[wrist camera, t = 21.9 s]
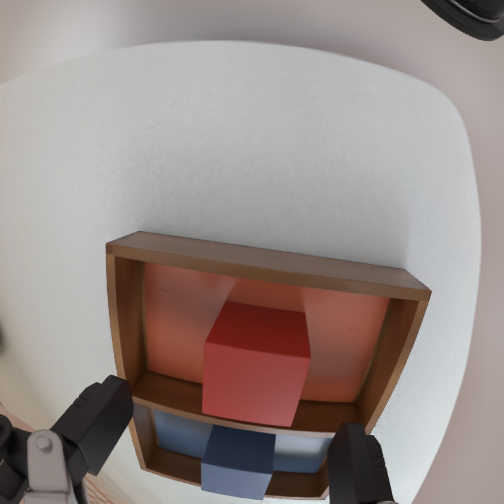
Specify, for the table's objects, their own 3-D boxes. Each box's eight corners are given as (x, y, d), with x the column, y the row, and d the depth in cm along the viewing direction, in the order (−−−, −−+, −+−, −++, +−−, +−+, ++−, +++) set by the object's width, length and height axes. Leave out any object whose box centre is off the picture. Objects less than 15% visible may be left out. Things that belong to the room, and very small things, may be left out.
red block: (225, 300, 16) (203, 342, 11) (305, 312, 15) (311, 358, 11) (219, 364, 17) (201, 413, 12) (291, 375, 16) (290, 427, 12)
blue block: (215, 417, 18) (200, 462, 14) (276, 426, 18) (272, 474, 13) (213, 449, 19) (201, 490, 15) (267, 458, 19) (262, 500, 14)
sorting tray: (138, 230, 16) (105, 243, 13) (405, 269, 15) (432, 290, 11) (154, 442, 21) (140, 469, 18) (322, 470, 20) (324, 500, 16)
